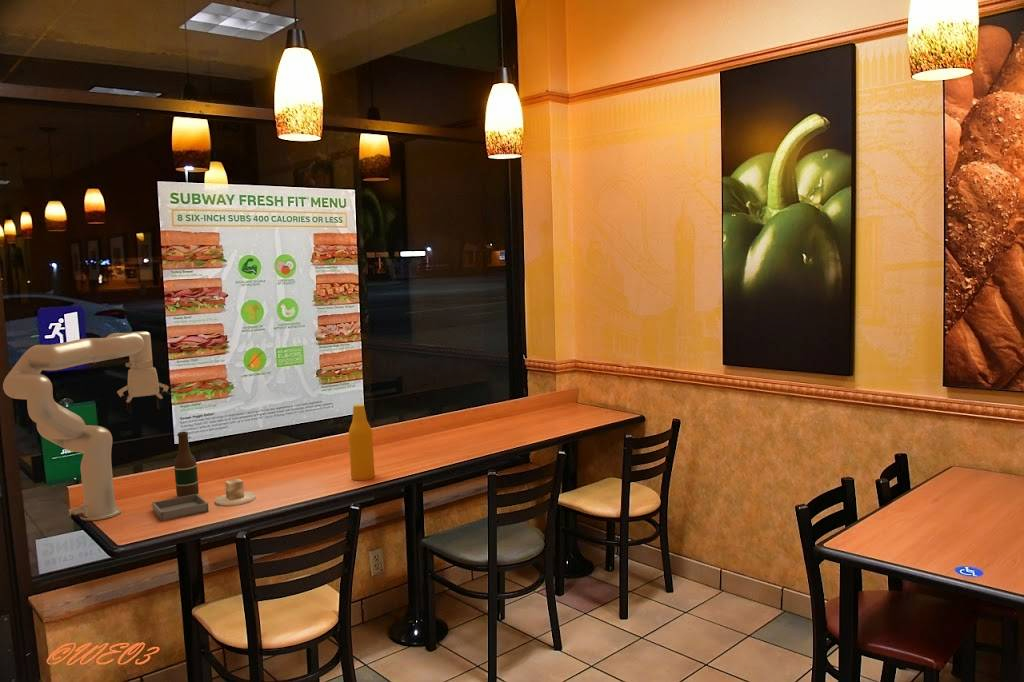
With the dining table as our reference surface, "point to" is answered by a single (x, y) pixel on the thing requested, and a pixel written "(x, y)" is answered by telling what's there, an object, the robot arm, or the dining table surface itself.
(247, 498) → the off-white plate
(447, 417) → the dining table surface
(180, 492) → the beer bottle
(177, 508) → the gray bin
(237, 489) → the birch block
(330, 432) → the dining table surface
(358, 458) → the beer bottle
